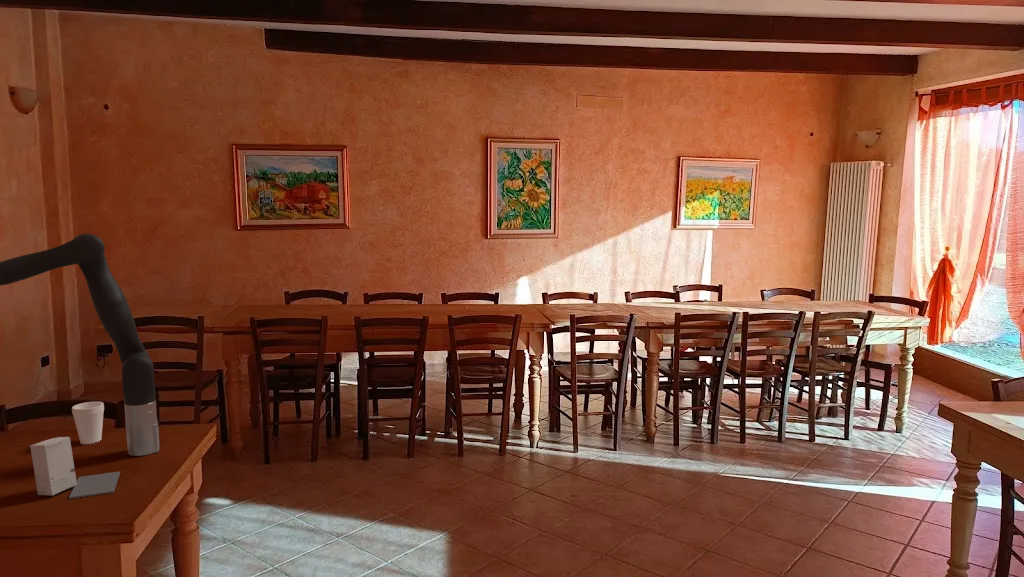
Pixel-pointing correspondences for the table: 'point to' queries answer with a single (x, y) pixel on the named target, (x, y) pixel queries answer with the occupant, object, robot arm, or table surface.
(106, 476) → the flat gray panel
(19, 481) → the table surface
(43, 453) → the skincare box
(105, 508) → the table surface
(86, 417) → the foam cup
